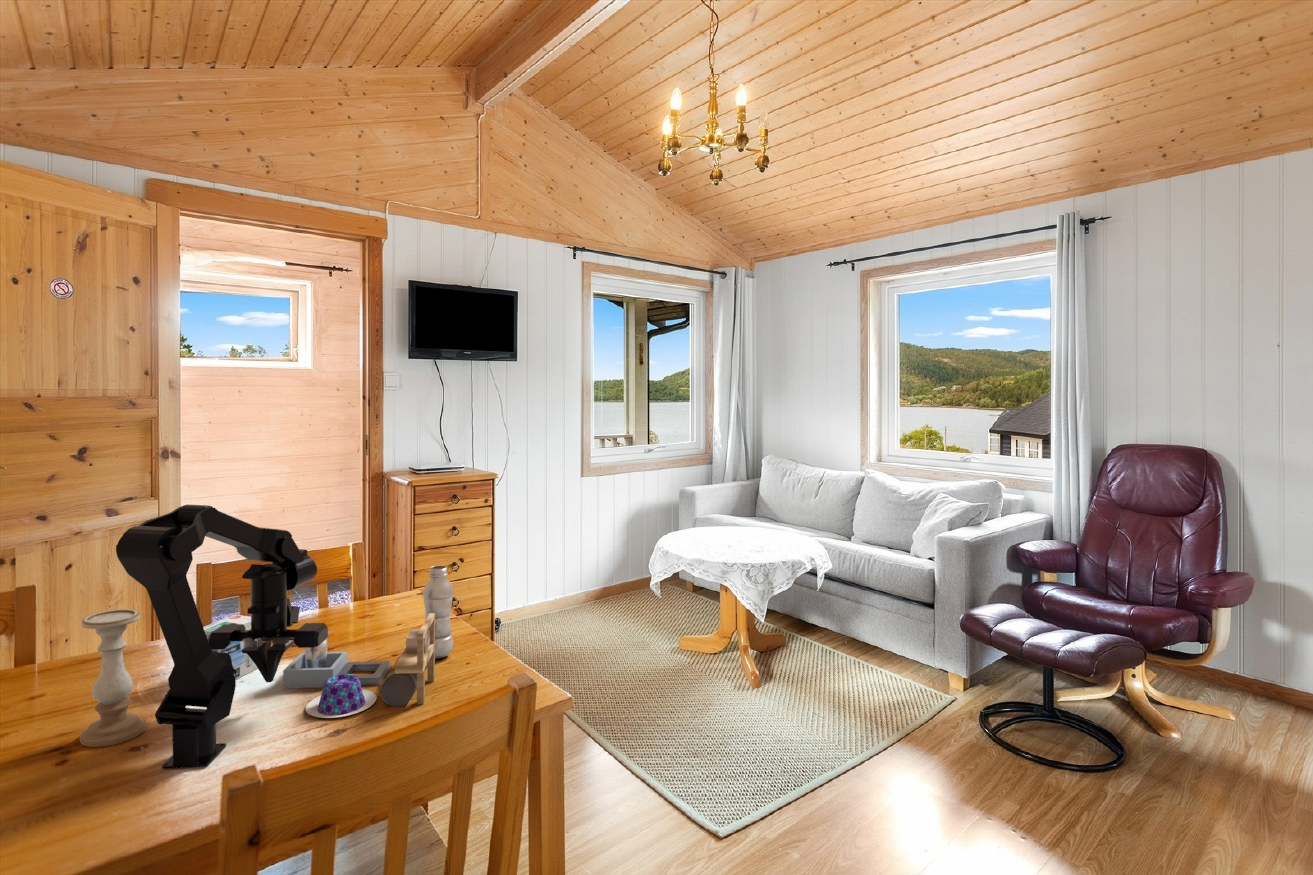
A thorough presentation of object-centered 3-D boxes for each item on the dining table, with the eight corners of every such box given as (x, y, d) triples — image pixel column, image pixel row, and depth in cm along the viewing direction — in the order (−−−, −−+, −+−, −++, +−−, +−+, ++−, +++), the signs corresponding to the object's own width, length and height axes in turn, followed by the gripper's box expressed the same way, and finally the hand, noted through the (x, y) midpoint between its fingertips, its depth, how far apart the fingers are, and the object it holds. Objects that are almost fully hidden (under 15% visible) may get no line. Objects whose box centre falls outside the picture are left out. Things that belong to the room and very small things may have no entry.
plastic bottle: (415, 658, 150) (415, 568, 149) (438, 648, 156) (438, 562, 155) (436, 664, 147) (437, 573, 146) (459, 654, 153) (460, 566, 152)
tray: (333, 687, 135) (332, 669, 134) (283, 688, 133) (283, 670, 133) (347, 668, 144) (347, 651, 143) (301, 669, 142) (301, 652, 142)
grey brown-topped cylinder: (325, 679, 136) (325, 635, 136) (299, 680, 136) (299, 636, 135) (332, 669, 141) (332, 627, 141) (307, 671, 140) (307, 628, 140)
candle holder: (138, 717, 120) (136, 604, 119) (153, 733, 115) (151, 615, 114) (74, 735, 114) (70, 616, 112) (87, 754, 108) (83, 628, 107)
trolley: (422, 705, 128) (423, 633, 127) (380, 707, 127) (380, 634, 126) (435, 678, 140) (435, 612, 139) (396, 679, 139) (396, 613, 138)
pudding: (326, 691, 133) (326, 665, 133) (387, 693, 133) (386, 667, 133) (292, 720, 121) (291, 692, 121) (358, 723, 121) (358, 694, 121)
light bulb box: (221, 687, 133) (220, 633, 132) (192, 684, 134) (191, 630, 134) (262, 666, 144) (262, 616, 143) (235, 663, 145) (234, 613, 144)
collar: (379, 684, 136) (379, 677, 136) (334, 686, 135) (334, 678, 135) (390, 667, 144) (390, 660, 144) (347, 669, 143) (347, 662, 143)
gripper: (337, 585, 133) (338, 663, 134) (235, 586, 131) (236, 665, 132) (316, 602, 122) (317, 687, 123) (204, 603, 120) (206, 690, 121)
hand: (269, 681), depth 125 cm, fingers closed
